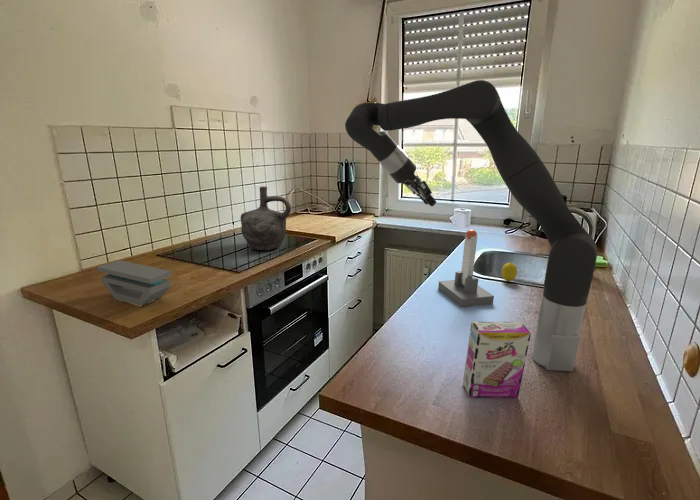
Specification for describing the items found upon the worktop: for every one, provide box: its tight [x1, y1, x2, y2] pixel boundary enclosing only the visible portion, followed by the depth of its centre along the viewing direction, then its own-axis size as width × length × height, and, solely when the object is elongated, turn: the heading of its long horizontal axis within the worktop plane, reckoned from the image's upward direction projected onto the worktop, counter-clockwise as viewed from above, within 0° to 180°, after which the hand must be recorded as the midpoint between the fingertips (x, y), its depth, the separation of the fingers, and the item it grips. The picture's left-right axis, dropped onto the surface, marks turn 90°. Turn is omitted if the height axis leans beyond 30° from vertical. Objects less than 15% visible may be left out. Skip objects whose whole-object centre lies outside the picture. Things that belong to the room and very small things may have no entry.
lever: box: [460, 229, 478, 286], centre depth 128 cm, size 4×4×20 cm
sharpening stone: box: [96, 259, 173, 306], centre depth 125 cm, size 25×8×11 cm, turn 66°
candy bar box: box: [462, 321, 532, 399], centre depth 81 cm, size 11×5×16 cm, turn 92°
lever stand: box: [437, 270, 495, 308], centre depth 131 cm, size 16×12×8 cm
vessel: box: [240, 186, 292, 251], centre depth 180 cm, size 24×22×30 cm
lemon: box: [501, 261, 518, 282], centre depth 145 cm, size 6×6×8 cm
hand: (431, 203), depth 117 cm, fingers open, 3 cm apart
